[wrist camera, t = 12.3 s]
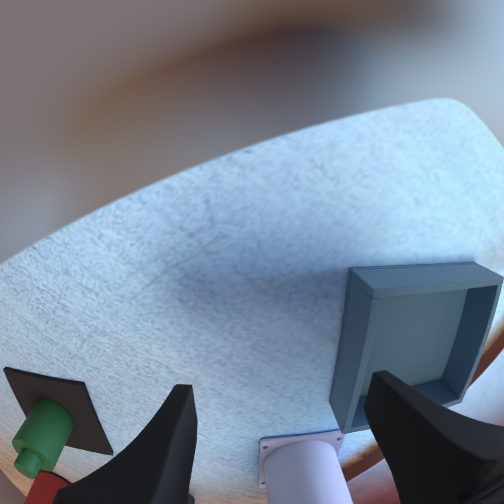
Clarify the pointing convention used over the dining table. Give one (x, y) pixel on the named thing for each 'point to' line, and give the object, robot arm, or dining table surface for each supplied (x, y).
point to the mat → (69, 398)
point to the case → (412, 332)
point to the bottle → (42, 438)
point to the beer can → (45, 488)
